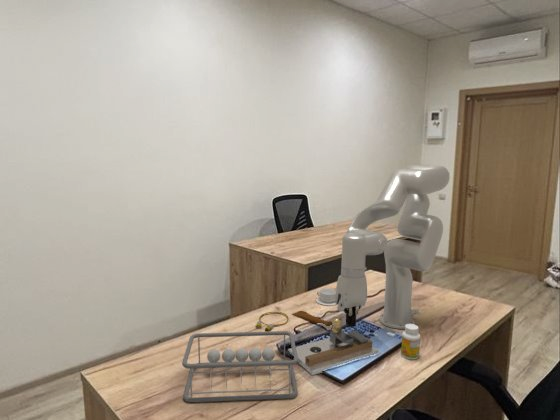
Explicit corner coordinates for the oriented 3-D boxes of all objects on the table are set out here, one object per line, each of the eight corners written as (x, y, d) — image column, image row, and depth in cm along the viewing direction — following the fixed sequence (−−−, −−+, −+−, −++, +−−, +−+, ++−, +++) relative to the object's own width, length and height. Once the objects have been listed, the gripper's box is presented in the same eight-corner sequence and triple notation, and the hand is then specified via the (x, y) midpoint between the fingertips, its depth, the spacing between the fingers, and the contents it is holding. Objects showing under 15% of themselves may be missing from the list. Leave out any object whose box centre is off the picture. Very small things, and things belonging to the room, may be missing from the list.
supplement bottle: (398, 351, 129) (400, 322, 127) (414, 350, 129) (416, 322, 128) (404, 360, 124) (406, 330, 122) (421, 359, 124) (423, 330, 123)
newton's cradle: (191, 365, 120) (181, 403, 102) (190, 332, 118) (180, 365, 100) (291, 362, 122) (298, 398, 104) (292, 330, 120) (299, 361, 103)
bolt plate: (350, 336, 139) (351, 323, 138) (378, 354, 127) (379, 341, 126) (287, 353, 127) (288, 340, 126) (312, 375, 115) (312, 360, 114)
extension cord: (244, 323, 149) (244, 318, 149) (275, 311, 160) (275, 307, 160) (265, 334, 141) (265, 329, 140) (297, 321, 151) (297, 316, 151)
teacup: (343, 300, 172) (343, 290, 171) (333, 308, 163) (333, 297, 163) (322, 295, 177) (322, 285, 176) (311, 302, 169) (311, 292, 168)
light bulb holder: (337, 340, 132) (338, 316, 131) (352, 351, 125) (353, 325, 124) (329, 342, 131) (330, 317, 130) (344, 353, 124) (345, 327, 123)
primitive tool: (291, 315, 157) (291, 306, 156) (301, 311, 160) (301, 303, 160) (327, 333, 142) (327, 323, 142) (337, 328, 146) (337, 319, 145)
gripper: (363, 265, 136) (360, 316, 139) (327, 271, 129) (325, 325, 132) (378, 271, 130) (375, 325, 132) (341, 278, 122) (339, 334, 125)
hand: (350, 325), depth 132 cm, fingers closed
